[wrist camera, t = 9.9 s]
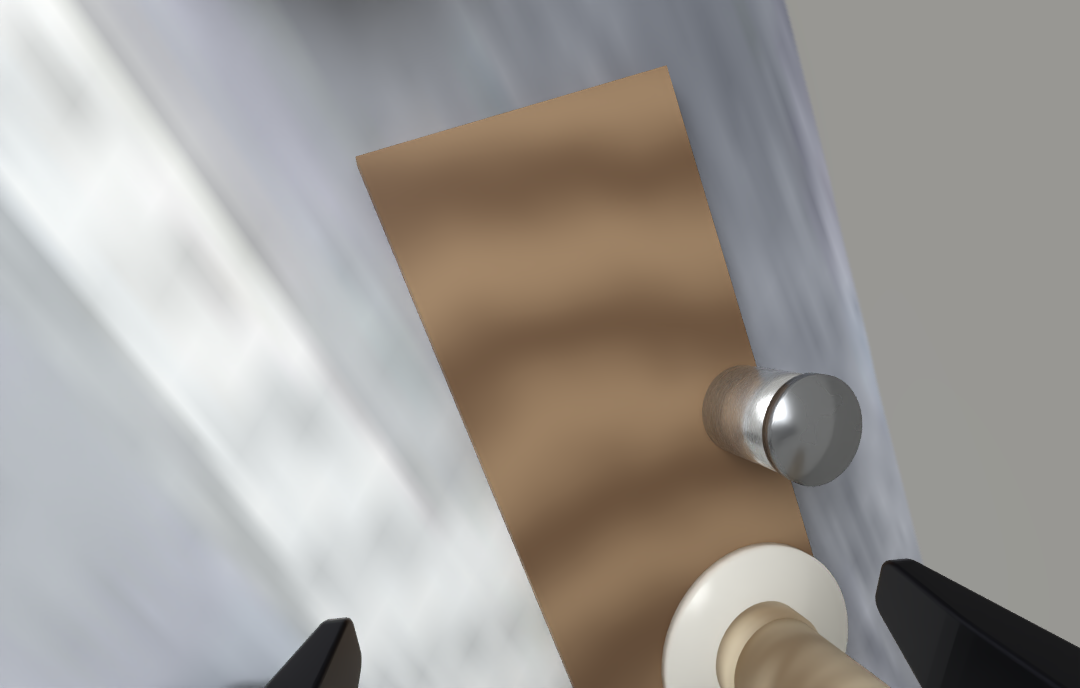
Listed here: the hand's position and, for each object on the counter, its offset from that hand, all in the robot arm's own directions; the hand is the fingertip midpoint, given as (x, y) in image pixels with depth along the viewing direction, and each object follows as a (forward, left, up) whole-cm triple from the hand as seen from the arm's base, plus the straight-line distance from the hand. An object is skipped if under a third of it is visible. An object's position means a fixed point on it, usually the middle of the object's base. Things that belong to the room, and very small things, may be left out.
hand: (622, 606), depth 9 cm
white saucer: (-8, -15, -12) cm, 20 cm away
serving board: (-2, -8, -13) cm, 15 cm away
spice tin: (+3, -11, -12) cm, 17 cm away
